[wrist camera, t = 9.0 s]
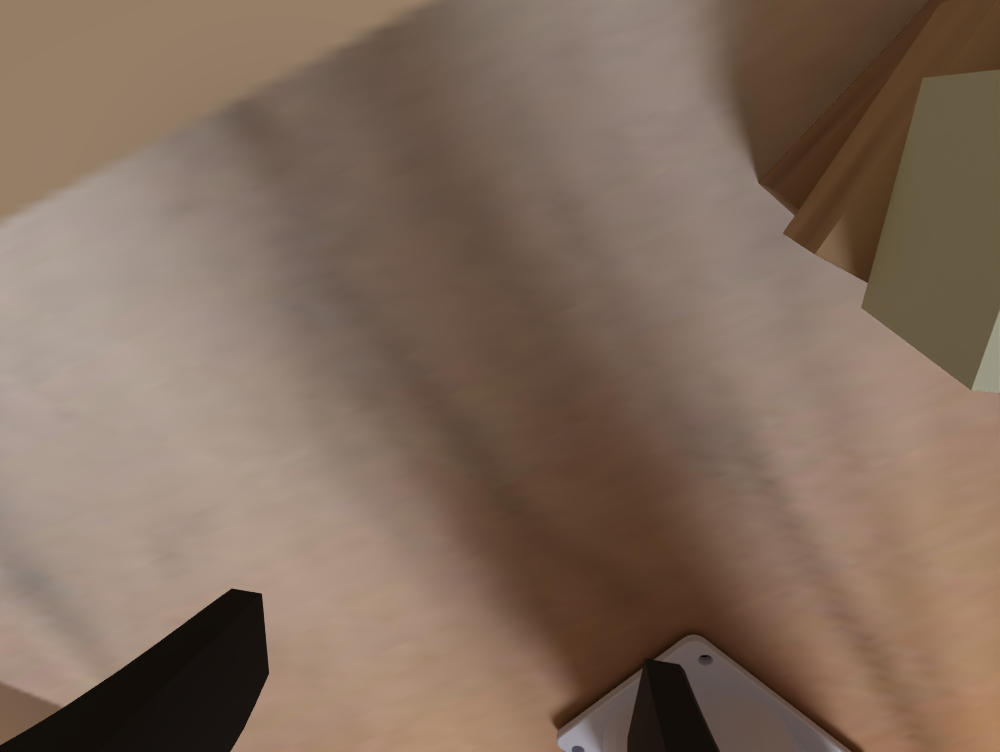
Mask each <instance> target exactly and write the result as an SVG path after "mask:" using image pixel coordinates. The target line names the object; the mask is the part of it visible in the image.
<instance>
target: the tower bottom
mask: <svg viewBox="0 0 1000 752" xmlns="http://www.w3.org/2000/svg"><path fill="white" fill-rule="evenodd" d="M947 1H950V0H931V1H930V2H929V3H928V4H927V5H926V6H925V7H924V8H923V9H922V10H921V11H920V12H919V13H918V14H917V16H916V17H915V18H914V19H913V20H912V21H911V22H910V23H909V24H908V25H907V26H906V27H905V28H904V29H903V30H902V31H901V33H900V34H899V35H898V36H897V37H896V38H895V39H894V40H893V41H892V42H891V43H890V44H889V45H888V46H887V47H886V48H885V50H884V51H883V52H882V53H881V54H880V55H879V56H878V57H877V58H876V59H875V60H874V61H873V62H872V63H871V64H870V65H869V66H868V68H867V69H866V70H865V71H864V72H863V73H862V74H861V75H860V76H859V77H858V78H857V79H856V80H855V81H854V82H853V83H852V85H851V86H850V87H849V88H848V89H847V90H846V91H845V92H844V93H843V94H842V95H841V96H840V97H839V98H838V99H837V100H836V102H835V103H834V104H833V105H832V106H831V107H830V108H829V109H828V110H827V111H826V112H825V113H824V114H823V115H822V116H821V117H820V119H819V120H818V121H817V122H816V123H815V124H814V125H813V126H812V127H811V128H810V129H809V130H808V131H807V132H806V133H805V134H804V136H803V137H802V138H801V139H800V140H799V141H798V142H797V143H796V144H795V145H794V146H793V147H792V148H791V149H790V150H789V151H788V152H787V154H786V155H785V156H784V157H783V158H782V159H781V160H780V161H779V162H778V163H777V164H776V165H775V166H774V167H773V168H772V169H771V171H770V172H769V173H768V174H767V175H766V176H765V177H764V178H763V179H762V180H761V181H760V182H759V184H760V185H761V186H762V187H763V188H764V189H766V190H767V191H768V192H769V193H770V194H771V195H772V196H773V197H775V198H776V199H777V200H778V201H779V202H780V203H781V204H782V205H784V206H785V207H786V208H787V209H788V210H789V211H790V212H791V213H792V214H794V215H796V213H797V212H798V211H799V209H800V208H801V206H802V205H803V203H804V202H805V200H806V199H807V197H808V196H809V194H810V193H811V192H812V190H813V189H814V187H815V186H816V184H817V183H818V181H819V180H820V178H821V177H822V176H823V174H824V173H825V171H826V170H827V168H828V167H829V165H830V164H831V162H832V161H833V159H834V158H835V157H836V155H837V154H838V152H839V151H840V149H841V148H842V146H843V145H844V143H845V142H846V140H847V139H848V138H849V136H850V135H851V133H852V132H853V130H854V129H855V127H856V126H857V124H858V123H859V121H860V120H861V119H862V117H863V116H864V114H865V113H866V111H867V110H868V108H869V107H870V105H871V104H872V102H873V101H874V100H875V98H876V97H877V95H878V94H879V92H880V91H881V89H882V88H883V86H884V85H885V83H886V82H887V81H888V79H889V78H890V76H891V75H892V73H893V72H894V70H895V69H896V67H897V66H898V64H899V63H900V62H901V60H902V59H903V57H904V56H905V54H906V53H907V51H908V50H909V48H910V47H911V45H912V44H913V43H914V41H915V40H916V38H917V37H918V35H919V34H920V32H921V31H922V29H923V28H924V26H925V25H926V24H927V22H928V21H929V19H930V18H931V16H932V15H933V13H934V12H935V10H936V9H937V7H938V6H939V5H940V4H941V3H944V2H947Z"/></svg>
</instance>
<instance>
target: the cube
mask: <svg viewBox="0 0 1000 752" xmlns="http://www.w3.org/2000/svg"><path fill="white" fill-rule="evenodd" d="M861 308H862V309H864V310H865V311H866V312H868V313H869V314H870V315H872V316H873V317H874V318H876V319H877V320H878V321H880V322H881V323H882V324H884V325H885V326H886V327H888V328H889V329H890V330H892V331H893V332H894V333H896V334H897V335H898V336H900V337H901V338H902V339H904V340H905V341H906V342H908V343H909V344H910V345H912V346H913V347H914V348H916V349H917V350H918V351H920V352H921V353H922V354H924V355H925V356H926V357H928V358H929V359H930V360H932V361H933V362H934V363H936V364H937V365H938V366H940V367H941V368H942V369H944V370H945V371H946V372H947V373H949V374H950V375H951V376H953V377H954V378H955V379H957V380H958V381H959V382H961V383H962V384H963V385H965V386H966V387H967V388H969V389H970V390H973V391H984V392H995V393H1000V70H991V71H981V72H972V73H963V74H954V75H945V76H936V77H927V78H923V79H922V83H921V87H920V90H919V94H918V98H917V101H916V105H915V109H914V113H913V116H912V120H911V124H910V128H909V131H908V135H907V139H906V143H905V146H904V150H903V154H902V158H901V161H900V165H899V169H898V172H897V176H896V180H895V184H894V187H893V191H892V195H891V199H890V202H889V206H888V210H887V214H886V217H885V221H884V225H883V228H882V232H881V236H880V240H879V243H878V247H877V251H876V255H875V258H874V262H873V266H872V270H871V273H870V277H869V281H868V284H867V288H866V292H865V296H864V299H863V303H862V307H861Z"/></svg>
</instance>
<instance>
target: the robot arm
mask: <svg viewBox="0 0 1000 752" xmlns="http://www.w3.org/2000/svg"><path fill="white" fill-rule="evenodd" d="M702 655H709V656H708V657H700V656H702ZM268 674H269V667H268V656H267V645H266V634H265V623H264V612H263V601H262V594H261V593H255V592H249V591H243V590H237V589H230V590H229V591H228V592H226V593H225V594H224V595H222V596H221V597H219V598H218V599H217V600H215V601H214V602H212V603H211V604H210V605H208V606H207V607H206V608H204V609H203V610H202V611H200V612H199V613H198V614H196V615H195V616H193V617H192V618H191V619H189V620H188V621H187V622H185V623H184V624H183V625H181V626H180V627H179V628H177V629H176V630H175V631H173V632H172V633H171V634H169V635H168V636H166V637H165V638H164V639H162V640H161V641H160V642H158V643H157V644H156V645H154V646H153V647H151V648H150V649H149V650H147V651H146V652H144V653H143V654H142V655H140V656H139V657H137V658H136V659H135V660H133V661H132V662H130V663H129V664H128V665H126V666H125V667H123V668H122V669H121V670H119V671H118V672H116V673H115V674H113V675H112V676H110V677H109V678H107V679H106V680H104V681H103V682H101V683H100V684H98V685H97V686H95V687H94V688H92V689H91V690H89V691H88V692H86V693H85V694H83V695H82V696H80V697H79V698H77V699H76V700H74V701H73V702H71V703H70V704H68V705H67V706H65V707H64V708H62V709H60V710H59V711H57V712H56V713H54V714H53V715H51V716H49V717H48V718H46V719H45V720H43V721H41V722H39V723H38V724H36V725H34V726H33V727H31V728H29V729H28V730H26V731H24V732H23V733H21V734H19V735H17V736H16V737H14V738H12V739H10V740H9V741H7V742H5V743H4V744H2V745H0V752H230V751H231V750H232V748H233V746H234V745H235V743H236V741H237V739H238V738H239V736H240V734H241V733H242V731H243V729H244V727H245V725H246V723H247V721H248V719H249V717H250V715H251V712H252V710H253V708H254V706H255V704H256V702H257V699H258V697H259V695H260V693H261V690H262V688H263V686H264V684H265V681H266V679H267V677H268ZM556 742H557V745H558V746H559V747H560V748H561V749H562V750H564V751H565V752H851V751H850V750H849V749H847V748H846V747H845V746H844V745H842V744H841V743H840V742H838V741H837V740H836V739H835V738H833V737H832V736H831V735H829V734H828V733H827V732H825V731H824V730H823V729H822V728H820V727H819V726H818V725H816V724H815V723H814V722H812V721H811V720H810V719H809V718H807V717H806V716H805V715H803V714H802V713H801V712H799V711H798V710H797V709H796V708H794V707H793V706H792V705H790V704H789V703H788V702H786V701H785V700H784V699H783V698H781V697H780V696H779V695H777V694H776V693H775V692H774V691H772V690H771V689H770V688H768V687H767V686H766V685H764V684H763V683H762V682H761V681H759V680H758V679H757V678H755V677H754V676H753V675H751V674H750V673H749V672H748V671H746V670H745V669H744V668H742V667H741V666H740V665H738V664H737V663H736V662H735V661H733V660H732V659H731V658H729V657H728V656H727V655H725V654H724V653H723V652H722V651H720V650H719V649H718V648H716V647H715V646H714V645H713V644H711V643H710V642H709V641H707V640H706V639H705V638H703V637H701V636H699V635H688V636H686V637H684V638H683V639H681V640H680V641H679V642H677V643H676V644H675V645H673V646H672V647H670V648H669V649H668V650H666V651H665V652H664V653H662V654H661V655H660V656H658V657H657V658H656V659H654V660H651V659H646V658H645V660H644V665H643V668H642V669H641V670H639V671H638V672H637V673H635V674H634V675H633V676H631V677H630V678H629V679H627V680H626V681H624V682H623V683H622V684H620V685H619V686H618V687H616V688H615V689H614V690H612V691H611V692H610V693H608V694H607V695H605V696H604V697H603V698H601V699H600V700H599V701H597V702H596V703H595V704H593V705H592V706H591V707H589V708H588V709H587V710H585V711H584V712H582V713H581V714H580V715H578V716H577V717H576V718H574V719H573V720H572V721H570V722H569V723H568V724H566V725H565V726H563V727H562V728H561V729H560V730H559V731H558V732H557V740H556Z"/></svg>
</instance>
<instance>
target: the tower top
mask: <svg viewBox="0 0 1000 752" xmlns="http://www.w3.org/2000/svg"><path fill="white" fill-rule="evenodd" d="M991 70H1000V0H950V1H947V2H944V3H941V4H940V5H939V6H938V7H937V9H936V10H935V12H934V13H933V15H932V16H931V18H930V19H929V21H928V22H927V24H926V25H925V26H924V28H923V29H922V31H921V32H920V34H919V35H918V37H917V38H916V40H915V41H914V43H913V44H912V45H911V47H910V48H909V50H908V51H907V53H906V54H905V56H904V57H903V59H902V60H901V62H900V63H899V64H898V66H897V67H896V69H895V70H894V72H893V73H892V75H891V76H890V78H889V79H888V81H887V82H886V83H885V85H884V86H883V88H882V89H881V91H880V92H879V94H878V95H877V97H876V98H875V100H874V101H873V102H872V104H871V105H870V107H869V108H868V110H867V111H866V113H865V114H864V116H863V117H862V119H861V120H860V121H859V123H858V124H857V126H856V127H855V129H854V130H853V132H852V133H851V135H850V136H849V138H848V139H847V140H846V142H845V143H844V145H843V146H842V148H841V149H840V151H839V152H838V154H837V155H836V157H835V158H834V159H833V161H832V162H831V164H830V165H829V167H828V168H827V170H826V171H825V173H824V174H823V176H822V177H821V178H820V180H819V181H818V183H817V184H816V186H815V187H814V189H813V190H812V192H811V193H810V194H809V196H808V197H807V199H806V200H805V202H804V203H803V205H802V206H801V208H800V209H799V211H798V212H797V213H796V215H795V216H794V218H793V219H792V221H791V222H790V224H789V225H788V227H787V228H786V230H785V231H784V232H783V234H785V235H786V236H788V237H789V238H791V239H792V240H794V241H795V242H797V243H798V244H800V245H801V246H803V247H804V248H806V249H807V250H809V251H811V252H812V253H814V254H815V255H817V256H819V257H821V258H823V259H824V260H826V261H828V262H830V263H832V264H834V265H836V266H837V267H839V268H841V269H843V270H845V271H847V272H849V273H850V274H852V275H854V276H856V277H858V278H860V279H862V280H863V281H865V282H867V283H868V281H869V277H870V273H871V270H872V266H873V262H874V258H875V255H876V251H877V247H878V243H879V240H880V236H881V232H882V228H883V225H884V221H885V217H886V214H887V210H888V206H889V202H890V199H891V195H892V191H893V187H894V184H895V180H896V176H897V172H898V169H899V165H900V161H901V158H902V154H903V150H904V146H905V143H906V139H907V135H908V131H909V128H910V124H911V120H912V116H913V113H914V109H915V105H916V101H917V98H918V94H919V90H920V87H921V83H922V79H923V78H927V77H936V76H945V75H954V74H963V73H972V72H981V71H991Z"/></svg>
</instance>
